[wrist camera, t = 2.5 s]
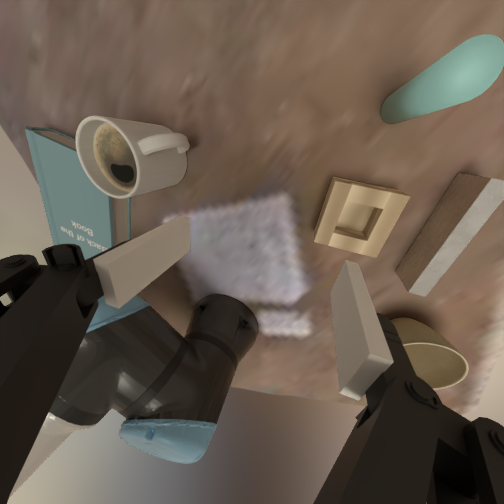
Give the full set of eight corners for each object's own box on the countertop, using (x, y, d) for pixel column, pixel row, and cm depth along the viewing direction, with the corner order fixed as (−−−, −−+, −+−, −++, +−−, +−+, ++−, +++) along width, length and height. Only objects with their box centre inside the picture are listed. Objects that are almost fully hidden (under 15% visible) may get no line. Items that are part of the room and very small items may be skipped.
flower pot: (356, 320, 35) (364, 356, 29) (417, 295, 30) (442, 333, 24) (389, 355, 37) (404, 396, 31) (453, 337, 32) (485, 382, 26)
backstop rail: (395, 271, 29) (408, 291, 25) (458, 172, 22) (491, 178, 18) (409, 275, 29) (425, 296, 25) (478, 176, 22) (517, 182, 18)
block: (314, 231, 30) (313, 241, 27) (332, 176, 26) (335, 181, 23) (369, 244, 29) (375, 257, 25) (397, 189, 25) (410, 196, 21)
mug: (138, 174, 34) (80, 182, 26) (139, 110, 29) (67, 95, 21) (193, 198, 33) (152, 216, 25) (204, 137, 28) (157, 133, 20)
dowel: (375, 121, 22) (424, 99, 12) (388, 88, 21) (457, 31, 11) (403, 125, 22) (479, 106, 12) (419, 92, 20) (522, 36, 10)
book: (132, 262, 46) (113, 274, 42) (74, 234, 47) (50, 242, 43) (132, 163, 34) (106, 165, 30) (55, 128, 35) (19, 126, 31)
